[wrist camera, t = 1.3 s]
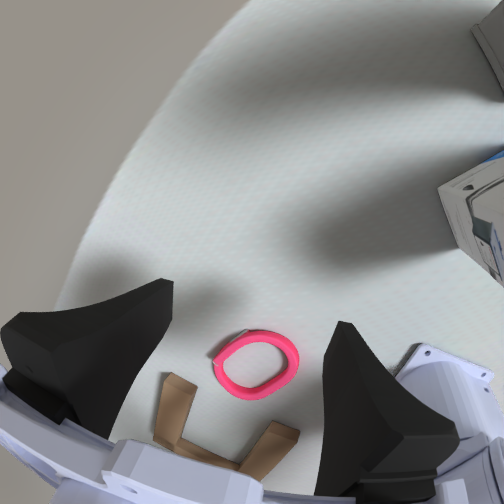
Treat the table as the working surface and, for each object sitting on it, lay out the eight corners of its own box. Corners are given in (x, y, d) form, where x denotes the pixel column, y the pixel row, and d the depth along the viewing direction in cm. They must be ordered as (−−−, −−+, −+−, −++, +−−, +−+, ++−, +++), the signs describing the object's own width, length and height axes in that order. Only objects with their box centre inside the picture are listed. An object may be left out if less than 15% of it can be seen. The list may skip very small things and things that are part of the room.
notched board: (300, 431, 25) (297, 442, 23) (256, 478, 29) (253, 487, 28) (171, 372, 27) (164, 381, 26) (158, 432, 32) (152, 440, 30)
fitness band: (263, 311, 23) (257, 320, 21) (314, 359, 23) (312, 370, 21) (205, 361, 26) (198, 370, 24) (250, 400, 26) (246, 410, 24)
